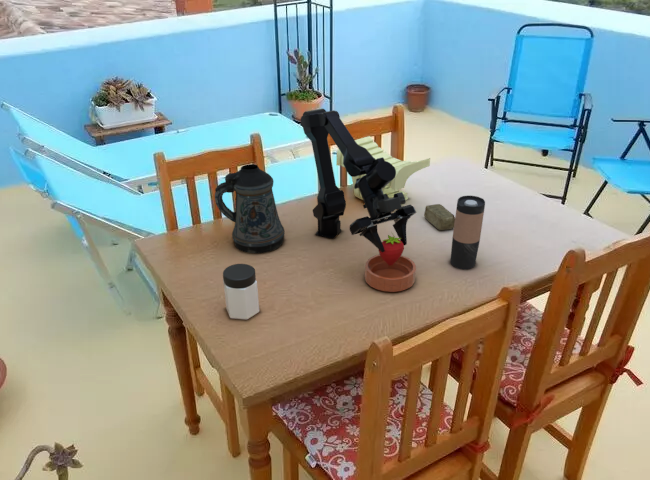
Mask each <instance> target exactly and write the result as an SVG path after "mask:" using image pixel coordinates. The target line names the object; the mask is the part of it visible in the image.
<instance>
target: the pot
mask: <svg viewBox="0 0 650 480" xmlns="http://www.w3.org/2000/svg"><path fill="white" fill-rule="evenodd" d="M416 272H417V265H416V263H415V261H413V260H412V259H410V258H409V257H407V256H405V255H403V254H402V255H401V256H400V257H399V259H398V260H397V261H396V262H395V263H394V264H393V265H391V266H390V265H388V264H387V263H386V262H385V261H384V260H383V259H382V257H381V256H380V253H379V254H376V255H373V256H371V257H369V258H367V260H366V261H365V264H364V281H365V283H366V284H367V285H368V286H370V287H371V288H373V289H375V290H378V291H382V292H390V293H394V292H401V291H402V292H403V291H404V290H408V289H409V288H411V287H412V286H413V285H414V284H415V282H416Z"/></svg>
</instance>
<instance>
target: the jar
mask: <svg viewBox="0 0 650 480" xmlns="http://www.w3.org/2000/svg"><path fill="white" fill-rule="evenodd" d="M256 275H257V274H256V270H255V268H254V266H252V265H250V264H247V263H235V264H231V265H229V266H227V267H225V268H224V270H223V272H222V283H223V290H224V291H223V292H224V301H225V309H226V311H227V314H228V316H229V318H230V319H234V320H235V319H236V320H249V319H250V318H252V317H253V316H255V315H257V314H258V313H260V301H259V300H260V299H259V290H258V287H259V286H258V281H257V277H256Z"/></svg>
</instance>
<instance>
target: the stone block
mask: <svg viewBox="0 0 650 480" xmlns="http://www.w3.org/2000/svg"><path fill="white" fill-rule="evenodd" d="M424 208H425V209H424V214H423V216H424V218H425V219H426V220H427V221H428V222H429V223H430V224H431V225H432V226H433V227H434V228H436V229H437V230H439V231H447V230H449V231H450V230H452V229H454V223H455V214H454V213H452V212H451V211H450V210H448V209H447V208H446V207H445V206H444V205H442V204H441V203H435V204H429V205H426V206H425V207H424Z"/></svg>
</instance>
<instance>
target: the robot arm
mask: <svg viewBox="0 0 650 480" xmlns="http://www.w3.org/2000/svg"><path fill="white" fill-rule="evenodd" d="M300 125H301V127H302V131H303V133H304V135H305V136H306V138H308V140H309V141H310V142H311V147H312V152H313V158H314V162H315V167H316V172H317V173H316V174H317V178H318V183H319V191H318V194H317V197H316V202H317V204H316V205H315V206H314V207H313V209H312V215H313V217H314V218H315V219H316V220H317V231H316V232H315V236H318V237H322V238H328V239H333V240H334V239H335V238H336V237H337V236H338V235H339V234H340V233H341V232H342V227H341V226H342V225H341V220H340V217H341V216H344V215H345V211H346V208H347V207H346V206H347V201H346V198H345V191H344V190H343V189H340V188H339V187H338V186H337V185H336V179H335V173H334V167H333V162H332V157H331V151H330V146H329V141H328V137H329V136H330V138H331V139H332V141H333V142H334V144H335V145H336V147H337V148H339V150H340V151H341V153H342V155H343V157H344V158H343V164H344V166H345V167H344V169H345V171H346V173H347V174H348V175H349V176H350V177H351V178H352V176H353V177H356V176H360V175H364V174H366V175H365V176H363V177H362V178H358V179H356V183H355V185H354V187H353V189H354V188H355V189H357V188H359V190H360V193H361V195H362V198H363V200H362V201H363V202H364V204H363V205H362V207H363V209H366V210H367V212H368V215H369V216H368V215H367V216H363V217H360V218H356V219H355V220H354V221H353V222H352V223H351V224H350V225H349V231H350V234H351V236H355V235H359V236H360V237H363V238H365V239H366V240H368V241H369V242H370V243H371V244H372V245H373V246H374V247H376V249H378V251H379V250H380V251H381V252H384V251H385V250H384V247H383V244H382V242H383V241H382V239H381V237H380V234H379V231H378V225H380V224H383V223H387V222H390V221H391V222H392V221H394V223H393V224H392V228H393V229H394V231H395V233H396V234H397V238H401V239H399V240H400V241H402V242H403V244H404V247H405V246H407V245H408V243H407V242H408V240H407V225H408V220H410V219H411V217H413V216H414V215H415V214H416V213H417V210H416V208H415V206H414V205H413V204H406V200H405V197H404V195H403V193H402V192H400V191H399V192H400V193H396V194H394V197H393V198H389V197H388V195H387V194H383V191H382V188H384V187H385V186H386V185H387V184H388V183H390V182H391V181H392V180H393V179H394V178H395V176H396V170H395V167H394V166H393V165H392V164H390V163H389V162H387V161H385V160H384V158H383V157H382V158H378V159H375V158H374V157H373V156H372V155H371V154H370V153H369V152H368V151H367V149H366V148H364V147H362V146H359V145H358V144H357V143H356V142H355V140H356V139H354V137H353V135H352V134H351V132H350V131H349V130H348V128H347V126H346V125H345V124H344V122H343V121H342V119H341V117H340V114H339V112H338V111H337V110H328V111H327V110H326V109H325V108H317V109H312V110H307V111H303V113H302V116H300ZM405 204H406V205H405ZM402 205H403V206H402Z"/></svg>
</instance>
